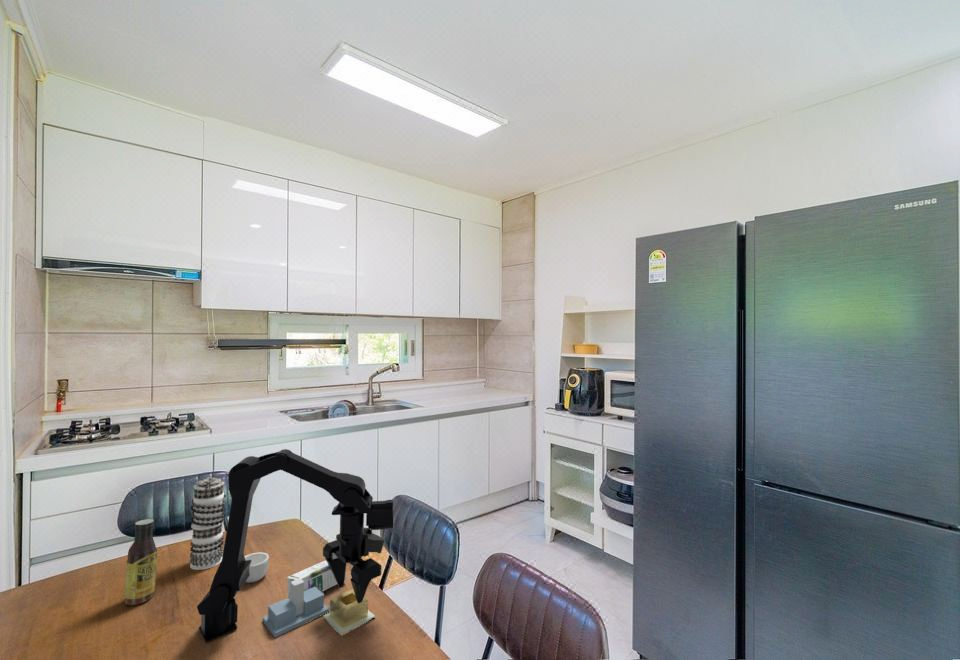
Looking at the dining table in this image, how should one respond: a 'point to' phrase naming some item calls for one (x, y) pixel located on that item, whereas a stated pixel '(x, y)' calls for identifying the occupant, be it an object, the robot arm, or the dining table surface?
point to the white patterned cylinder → (207, 523)
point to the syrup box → (315, 577)
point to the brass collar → (348, 608)
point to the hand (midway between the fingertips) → (350, 594)
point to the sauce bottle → (141, 565)
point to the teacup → (257, 566)
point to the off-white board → (350, 627)
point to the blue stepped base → (295, 609)
